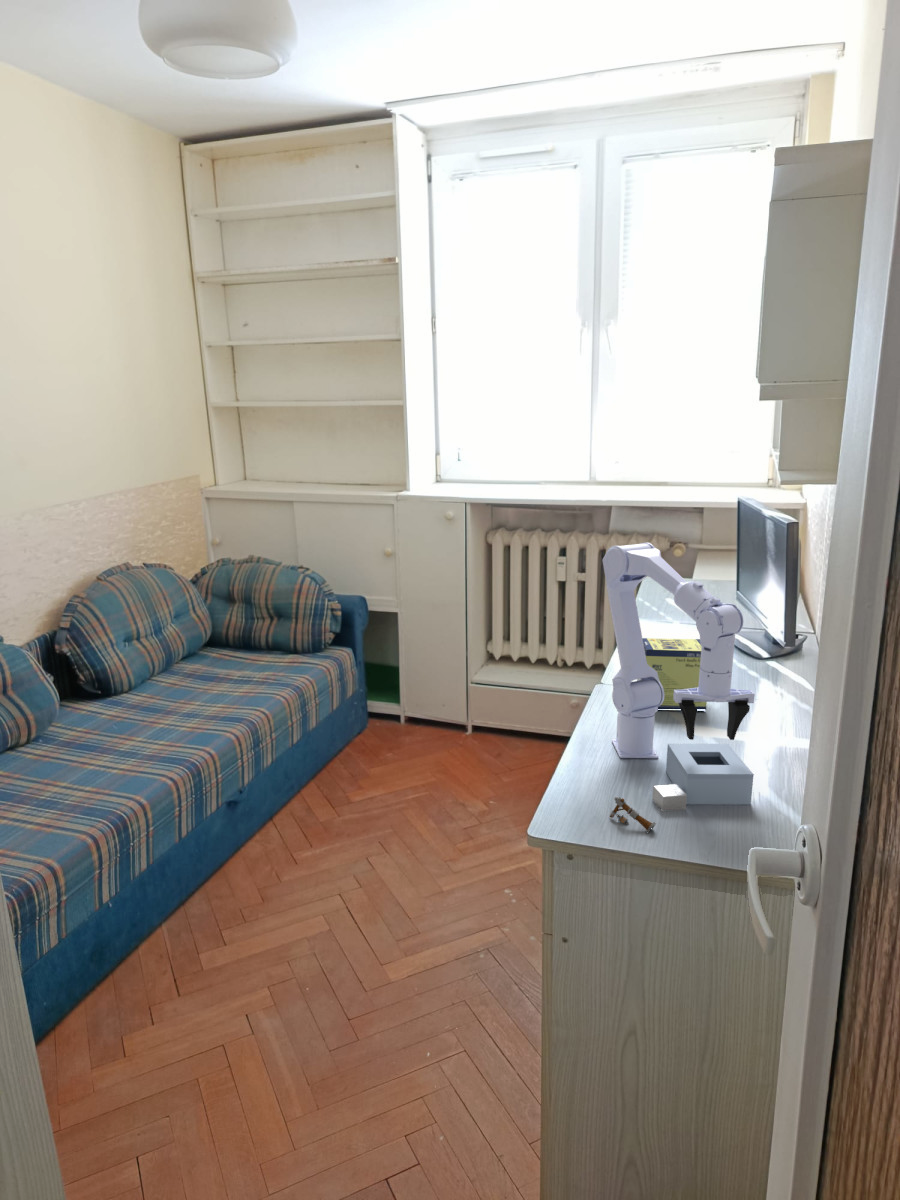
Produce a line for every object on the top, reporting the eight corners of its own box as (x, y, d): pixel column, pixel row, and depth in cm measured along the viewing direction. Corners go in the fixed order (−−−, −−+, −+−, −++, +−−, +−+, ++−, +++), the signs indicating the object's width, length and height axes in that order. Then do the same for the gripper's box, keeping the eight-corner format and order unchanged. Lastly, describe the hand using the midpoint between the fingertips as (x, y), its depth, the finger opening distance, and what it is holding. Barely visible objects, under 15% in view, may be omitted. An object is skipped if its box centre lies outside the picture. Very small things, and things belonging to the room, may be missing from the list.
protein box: (707, 712, 196) (712, 650, 192) (641, 711, 197) (645, 649, 193) (697, 698, 206) (701, 638, 202) (634, 696, 207) (638, 637, 203)
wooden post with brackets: (608, 810, 146) (619, 792, 143) (645, 840, 142) (656, 822, 140) (603, 814, 144) (614, 796, 142) (641, 844, 140) (652, 826, 138)
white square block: (652, 800, 152) (653, 785, 151) (675, 799, 152) (676, 784, 152) (662, 812, 147) (663, 796, 147) (685, 810, 148) (686, 795, 147)
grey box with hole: (665, 771, 163) (667, 743, 162) (725, 771, 163) (728, 743, 162) (685, 804, 150) (687, 774, 148) (750, 804, 150) (753, 774, 148)
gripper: (682, 675, 147) (677, 745, 150) (763, 676, 147) (756, 746, 150) (672, 663, 154) (667, 731, 157) (749, 664, 154) (743, 731, 157)
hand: (710, 737), depth 154 cm, fingers open, 7 cm apart
